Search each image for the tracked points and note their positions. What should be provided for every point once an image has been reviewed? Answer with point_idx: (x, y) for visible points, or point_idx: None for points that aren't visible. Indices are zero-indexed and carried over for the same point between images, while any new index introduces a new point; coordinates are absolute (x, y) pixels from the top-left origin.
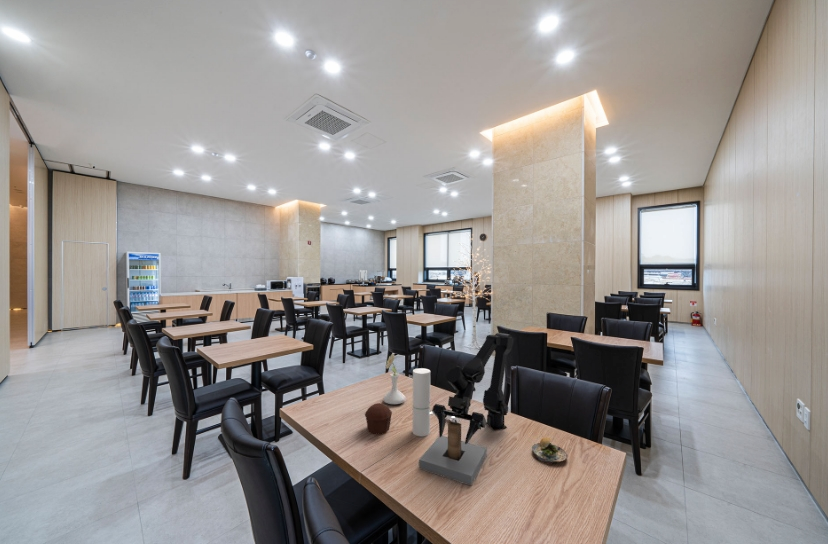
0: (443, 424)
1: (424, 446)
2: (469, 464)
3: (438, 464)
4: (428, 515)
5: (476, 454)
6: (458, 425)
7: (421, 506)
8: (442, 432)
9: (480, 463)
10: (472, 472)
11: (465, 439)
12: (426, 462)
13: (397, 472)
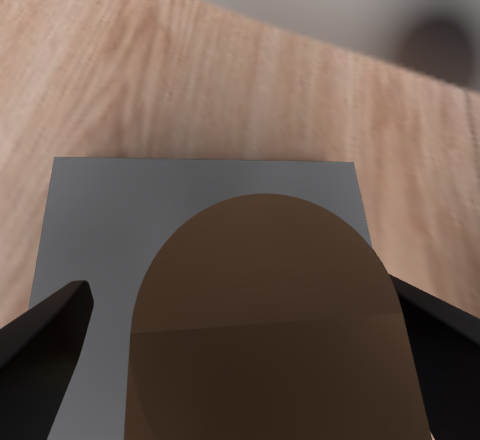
0: (477, 420)
1: None
2: (89, 250)
3: (253, 168)
4: (181, 10)
5: (63, 403)
6: (161, 356)
7: (217, 30)
8: None
9: None
10: (54, 186)
11: (69, 297)
12: (313, 163)
13: (378, 129)
